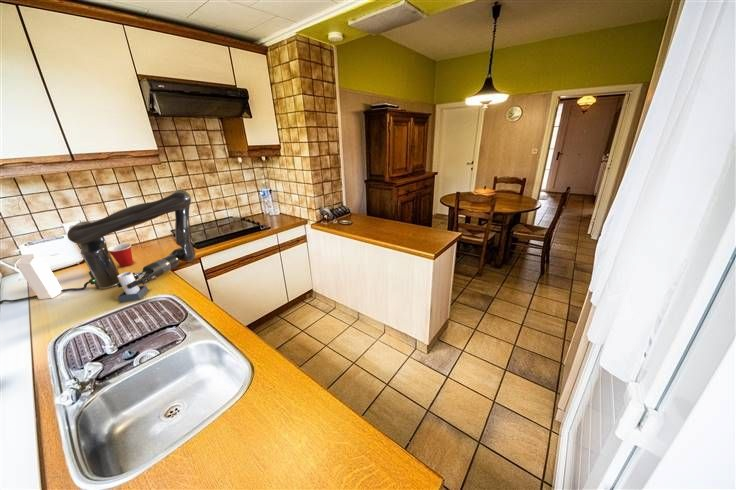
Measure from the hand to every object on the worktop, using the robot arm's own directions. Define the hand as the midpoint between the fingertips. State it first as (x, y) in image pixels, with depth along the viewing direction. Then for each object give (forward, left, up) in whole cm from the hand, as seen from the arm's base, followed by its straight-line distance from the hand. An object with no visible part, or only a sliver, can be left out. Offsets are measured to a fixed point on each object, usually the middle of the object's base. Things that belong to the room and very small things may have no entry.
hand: (123, 286), depth 119 cm
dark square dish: (+1, +2, -7) cm, 7 cm away
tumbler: (+1, +2, -6) cm, 7 cm away
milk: (-42, +18, -7) cm, 46 cm away
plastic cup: (-23, +45, -7) cm, 51 cm away
